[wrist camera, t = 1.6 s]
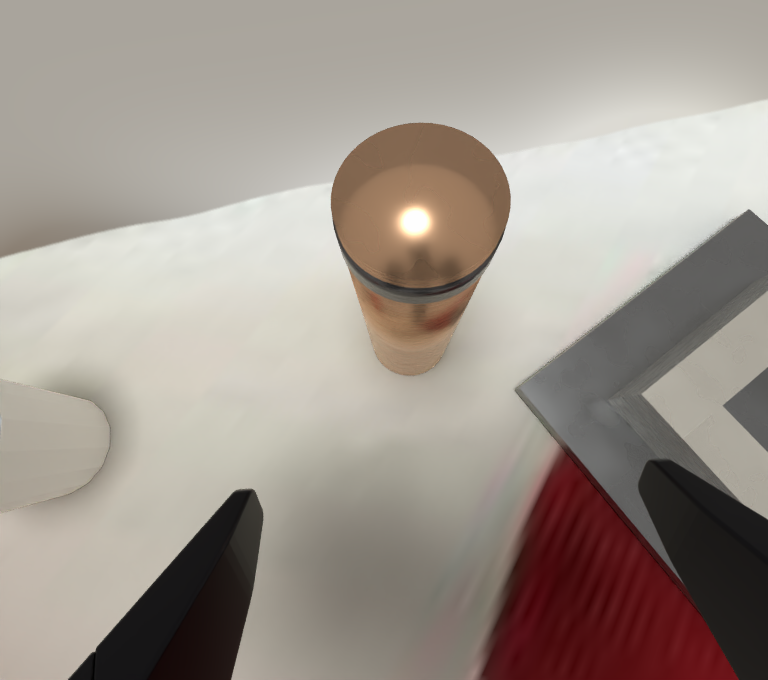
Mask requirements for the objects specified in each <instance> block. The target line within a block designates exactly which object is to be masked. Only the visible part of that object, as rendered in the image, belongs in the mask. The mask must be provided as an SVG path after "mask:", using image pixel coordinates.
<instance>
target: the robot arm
mask: <svg viewBox="0 0 768 680" xmlns="http://www.w3.org/2000/svg"><path fill="white" fill-rule="evenodd" d="M638 490H639V494H640V496H641V498H642V500H643V503H644V505H645V507H646V509H647V511H648V513H649V516H650V518H651V520H652V522H653V524H654V526H655V529H656V531H657V533H658V535H659V537H660V539H661V542H662V544H663V546H664V548H665V550H666V552H667V554H668V556H669V558H670V560H671V562H672V564H673V566H674V568H675V570H676V571H677V573H678V575H679V577H680V578H681V580H682V582H683V584H684V585H685V587H686V589H687V591H688V592H689V594H690V596H691V597H692V599H693V601H694V603H695V604H696V606H697V608H698V610H699V611H700V613H701V615H702V616H703V618H704V620H705V622H706V623H707V625H708V627H709V629H710V630H711V632H712V634H713V635H714V637H715V639H716V641H717V642H718V644H719V646H720V648H721V649H722V651H723V653H724V654H725V656H726V658H727V660H728V661H729V663H730V665H731V667H732V668H733V670H734V672H735V673H736V675H737V677H738V679H739V680H768V519H767V518H765V517H763V516H762V515H760V514H758V513H757V512H755V511H754V510H752V509H750V508H749V507H747V506H745V505H744V504H742V503H741V502H739V501H737V500H736V499H734V498H732V497H731V496H729V495H728V494H726V493H724V492H723V491H721V490H719V489H718V488H716V487H715V486H713V485H711V484H710V483H708V482H706V481H705V480H703V479H701V478H700V477H698V476H697V475H695V474H693V473H692V472H690V471H688V470H687V469H685V468H684V467H682V466H680V465H679V464H677V463H675V462H674V461H672V460H670V459H667V458H659V459H649V460H648V461H646V463H645V465H644V468H643V471H642V473H641V476H640V478H639V481H638ZM262 525H263V510H262V507H261V505H260V502H259V499H258V497H257V494H256V492H255V490H253V489H239V490H236V491H234V492H233V493H232V494H231V495H230V497H229V498H228V499H227V500H226V501H225V502H224V503H223V504H222V506H221V507H220V508H219V509H218V510H217V511H216V512H215V514H214V515H213V516H212V517H211V518H210V519H209V520H208V522H207V523H206V524H205V525H204V526H203V527H202V528H201V529H200V531H199V532H198V533H197V534H196V535H195V536H194V537H193V539H192V540H191V541H190V542H189V543H188V544H187V545H186V546H185V548H184V549H183V550H182V551H181V552H180V553H179V554H178V556H177V557H176V558H175V559H174V560H173V561H172V562H171V563H170V565H169V566H168V567H167V568H166V569H165V570H164V571H163V573H162V574H161V575H160V576H159V577H158V578H157V579H156V581H155V582H154V583H153V584H152V585H151V586H150V587H149V588H148V590H147V591H146V592H145V593H144V594H143V595H142V596H141V598H140V599H139V600H138V601H137V602H136V603H135V604H134V605H133V607H132V608H131V609H130V610H129V611H128V612H127V613H126V615H125V616H124V617H123V618H122V619H121V620H120V621H119V623H118V624H117V625H116V626H115V627H114V628H113V629H112V630H111V632H110V633H109V634H108V635H107V636H106V637H105V638H104V640H103V641H102V642H101V643H100V644H99V645H98V646H97V648H96V651H95V652H92V653H91V654H90V655H89V656H88V657H87V659H86V660H85V661H84V662H83V663H82V664H81V665H80V667H79V668H78V669H77V670H76V671H75V672H74V673H73V674H72V676H71V677H70V678H69V679H68V680H231V678H232V674H233V670H234V666H235V662H236V658H237V653H238V649H239V645H240V641H241V637H242V633H243V629H244V625H245V621H246V617H247V613H248V609H249V605H250V601H251V596H252V592H253V587H254V581H255V574H256V567H257V560H258V553H259V546H260V539H261V532H262Z"/></svg>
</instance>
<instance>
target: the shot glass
mask: <svg viewBox="0 0 768 680" xmlns="http://www.w3.org/2000/svg"><path fill="white" fill-rule="evenodd" d="M109 448H110V426H109V424H108V421H107V419H106V417H105V414H104V412H103V411H102V410H101V409H100V408H99V407H97V406H96V405H95V404H94V403H93V402H92V401H89V400H85V399H81V398H77V397H73V396H69V395H65V394H61V393H57V392H52V391H48V390H44V389H40V388H36V387H32V386H27V385H23V384H19V383H15V382H11V381H6V380H2V379H0V513H3V512H7V511H10V510H14V509H17V508H21V507H25V506H28V505H32V504H35V503H39V502H42V501H46V500H50V499H53V498H57V497H60V496H64V495H67V494H71V493H72V492H74V491H76V490H77V489H79V488H81V487H82V486H84V485H86V484H87V483H89V482H90V480H91V479H92V478H93V477H94V476H95V474H96V473H97V472H98V471H99V470H100V468H101V467H102V466H103V463H104V461H105V458H106V456H107V453H108V450H109Z"/></svg>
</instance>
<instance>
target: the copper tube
mask: <svg viewBox="0 0 768 680" xmlns="http://www.w3.org/2000/svg"><path fill="white" fill-rule="evenodd" d="M510 200H511V196H510V189H509V184H508V181H507V177H506V175H505V173H504V170H503V168H502V166H501V165H500V163H499V162H498V160H497V159H496V157H495V156H494V155H493V154H492V153H491V151H490V150H489V149H488V148H486V147H485V146H484V145H483V144H482V143H481V142H479V141H478V140H477V139H475V138H474V137H472V136H470V135H468V134H466V133H465V132H462V131H460V130H457V129H455V128H452V127H448V126H445V125H439V124H433V123H409V124H403V125H398V126H394V127H391V128H388V129H385V130H383V131H380V132H378V133H376V134H374V135H373V136H371V137H369V138H368V139H366V140H365V141H363V142H362V143H361V144H359V145H358V146H357V147H356V148H355V149H354V150H353V151H352V152H351V153H350V154H349V155H348V156H347V158H346V159H345V160H344V162H343V164H342V165H341V167H340V168H339V171H338V173H337V175H336V177H335V180H334V183H333V187H332V193H331V211H332V217H333V225H334V230H335V233H336V237H337V240H338V243H339V246H340V249H341V252H342V255H343V258H344V260H345V262H346V264H347V266H348V268H349V271H350V275H351V278H352V281H353V284H354V287H355V290H356V294H357V297H358V300H359V303H360V306H361V309H362V313H363V316H364V319H365V322H366V325H367V328H368V332H369V335H370V338H371V341H372V344H373V347H374V351H375V353H376V355H377V357H378V359H379V360H380V362H381V363H382V364H383V365H384V366H385V367H386V368H388V369H389V370H391V371H393V372H395V373H398V374H401V375H418V374H421V373H424V372H426V371H428V370H430V369H431V368H433V367H434V366H435V365H436V364H437V363H438V362H439V360H440V359H441V357H442V355H443V353H444V351H445V349H446V347H447V345H448V343H449V341H450V339H451V337H452V335H453V333H454V331H455V329H456V327H457V325H458V323H459V321H460V319H461V317H462V315H463V313H464V311H465V308H466V306H467V304H468V302H469V300H470V298H471V296H472V294H473V292H474V290H475V288H476V286H477V284H478V282H479V280H480V278H481V276H482V274H483V273H484V272H485V270H486V269H487V267H488V266H489V264H490V262H491V260H492V258H493V256H494V254H495V252H496V250H497V248H498V246H499V244H500V242H501V240H502V237H503V234H504V231H505V228H506V224H507V221H508V218H509V212H510Z"/></svg>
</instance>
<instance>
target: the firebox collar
mask: <svg viewBox="0 0 768 680" xmlns="http://www.w3.org/2000/svg"><path fill="white" fill-rule="evenodd" d="M515 391H516V392H517V394H518V395H519V396H520V397H521V398H522V400H523V401H524V402H525V403H526V404H527V406H528V407H529V408H530V409H531V411H532V412H533V413H534V414H535V415H536V417H537V418H538V419H539V420H540V421H541V423H542V424H543V425H544V426H545V427H546V429H547V430H548V431H549V432H550V433H551V435H552V436H553V437H554V438H555V439H556V441H557V442H558V443H559V444H560V445H561V447H562V448H563V449H564V450H565V451H566V453H567V454H568V455H569V456H570V458H571V459H572V460H573V461H574V462H575V464H576V465H577V466H578V467H579V468H580V470H581V471H582V472H583V473H584V474H585V476H586V477H587V478H588V479H589V480H590V482H591V483H592V484H593V485H594V486H595V488H596V489H597V490H598V491H599V492H600V494H601V495H602V496H603V497H604V499H605V500H606V501H607V502H608V503H609V505H610V506H611V507H612V508H613V509H614V511H615V512H616V513H617V514H618V515H619V517H620V518H621V519H622V520H623V521H624V523H625V524H626V525H627V526H628V527H629V529H630V530H631V531H632V532H633V533H634V535H635V536H636V537H637V538H638V539H639V541H640V542H641V543H642V544H643V546H644V547H645V548H646V549H647V550H648V552H649V553H650V554H651V555H652V556H653V558H654V559H655V560H656V561H657V562H658V564H659V565H660V566H661V567H662V568H663V570H664V571H665V572H666V573H667V574H668V576H669V577H670V578H671V579H672V580H673V582H674V583H675V584H676V585H677V587H678V588H679V589H680V590H681V591H682V593H683V594H684V595H685V596H686V597H687V599H688V600H689V601H690V602H691V603H692V605H693V606H694V607H695V608H696V609H697V611H698V612H699V613H700V611H699V610H698V608H697V606H696V604H695V603H694V601H693V599H692V597H691V596H690V594H689V592H688V591H687V589H686V587H685V585H684V584H683V582H682V580H681V578H680V577H679V575H678V573H677V571H676V570H675V568H674V566H673V564H672V562H671V560H670V558H669V556H668V554H667V552H666V550H665V548H664V546H663V544H662V542H661V539H660V537H659V535H658V533H657V531H656V529H655V526H654V524H653V522H652V520H651V518H650V516H649V513H648V511H647V509H646V507H645V505H644V503H643V500H642V498H641V496H640V494H639V490H638V481H639V478H640V476H641V473H642V471H643V468H644V465H645V463H646V461H648V460H649V459H659V458H667V459H670V460H672V461H674V462H675V463H677V464H679V465H680V466H682V467H684V468H685V469H687V470H688V471H690V472H692V473H693V474H695V475H697V476H698V477H700V478H701V479H703V480H705V481H706V482H708V483H710V484H711V485H713V486H715V487H716V488H718V489H719V490H721V491H723V492H724V493H726V494H728V495H729V496H731V497H732V498H734V499H736V500H737V501H739V502H741V503H742V504H744V505H745V506H747V507H749V508H750V509H752V510H754V511H755V512H757V513H758V514H760V515H762V516H763V517H765V518H767V519H768V225H767V224H766V223H765V222H763V221H762V220H761V219H760V218H759V217H758V216H756V215H755V214H754V213H753V212H752V211H751V210H747V211H746V212H744V213H743V214H741V215H740V216H738V217H737V218H735V219H734V220H732V221H731V222H730V223H729V224H727V225H726V226H725V227H723V228H722V229H721V230H720V231H718V232H717V233H716V234H714V235H713V236H712V237H711V238H709V239H708V240H707V241H705V242H704V243H703V244H701V245H700V246H699V247H698V248H696V249H695V250H694V251H692V252H691V253H690V254H689V255H687V256H686V257H685V258H683V259H682V260H681V261H680V262H678V263H677V264H676V265H674V266H673V267H672V268H671V269H669V270H668V271H667V272H665V273H664V274H663V275H662V276H660V277H659V278H658V279H656V280H655V281H654V282H652V283H651V284H650V285H649V286H647V287H646V288H645V289H643V290H642V291H641V292H640V293H638V294H637V295H636V296H634V297H633V298H632V299H631V300H629V301H628V302H627V303H625V304H624V305H623V306H622V307H620V308H619V309H618V310H616V311H615V312H614V313H613V314H611V315H610V316H609V317H607V318H606V319H605V320H603V321H602V322H601V323H600V324H598V325H597V326H596V327H594V328H593V329H592V330H591V331H589V332H588V333H587V334H585V335H584V336H583V337H582V338H580V339H579V340H578V341H576V342H575V343H574V344H573V345H571V346H570V347H569V348H567V349H566V350H565V351H564V352H562V353H561V354H560V355H558V356H557V357H556V358H555V359H553V360H552V361H551V362H549V363H548V364H547V365H545V366H544V367H543V368H542V369H540V370H539V371H538V372H536V373H535V374H534V375H533V376H531V377H530V378H529V379H527V380H526V381H525V382H524V383H522V384H521V385H520V386H518V387H517V388H516V389H515ZM700 614H701V613H700ZM702 617H703V616H702Z"/></svg>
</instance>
